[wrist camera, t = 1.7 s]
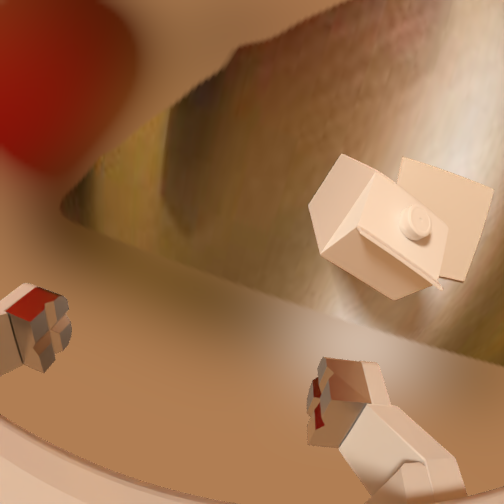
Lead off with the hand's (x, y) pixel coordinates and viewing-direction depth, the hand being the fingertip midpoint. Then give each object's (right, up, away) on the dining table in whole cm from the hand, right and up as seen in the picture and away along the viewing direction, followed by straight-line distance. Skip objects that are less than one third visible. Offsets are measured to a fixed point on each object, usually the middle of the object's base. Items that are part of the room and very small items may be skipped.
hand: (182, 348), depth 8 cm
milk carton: (+13, +9, +27) cm, 31 cm away
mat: (+25, +6, +27) cm, 37 cm away
